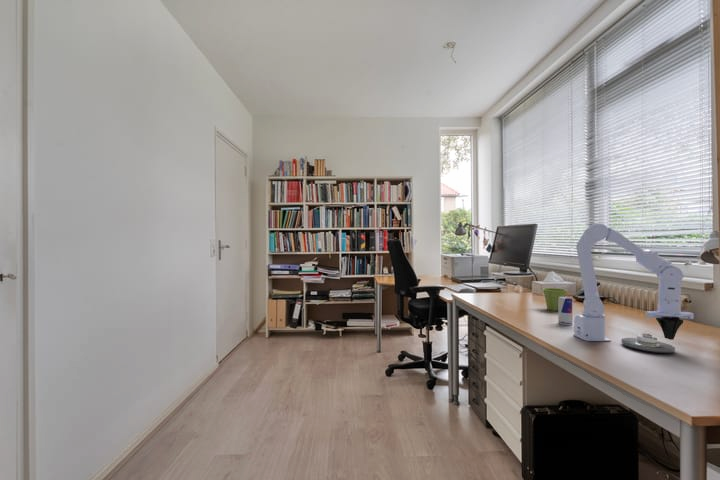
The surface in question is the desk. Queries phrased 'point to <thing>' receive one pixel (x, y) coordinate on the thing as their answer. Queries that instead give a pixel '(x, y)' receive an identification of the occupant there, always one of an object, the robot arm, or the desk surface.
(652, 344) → the cover
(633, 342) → the turntable
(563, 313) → the energy drink
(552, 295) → the plant pot
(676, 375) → the desk surface
